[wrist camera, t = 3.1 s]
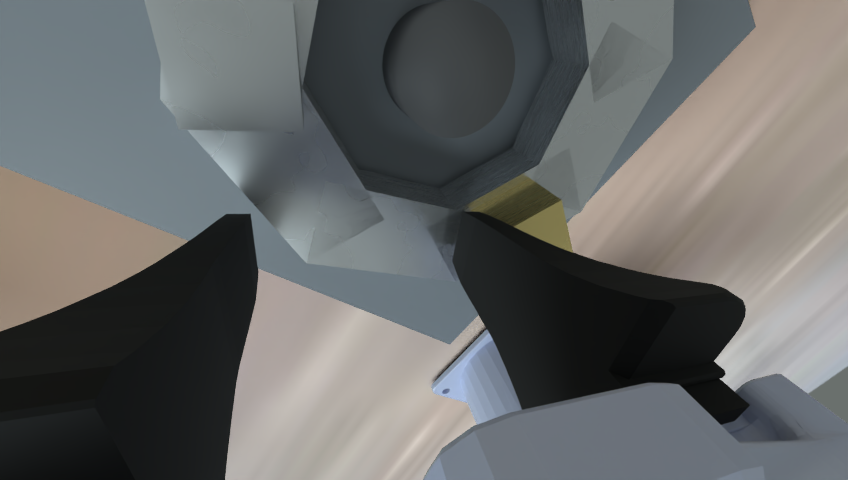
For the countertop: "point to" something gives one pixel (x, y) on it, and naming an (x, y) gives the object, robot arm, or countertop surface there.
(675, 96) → the slate plate
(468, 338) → the countertop surface
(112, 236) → the countertop surface
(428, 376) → the countertop surface
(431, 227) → the ring nut
